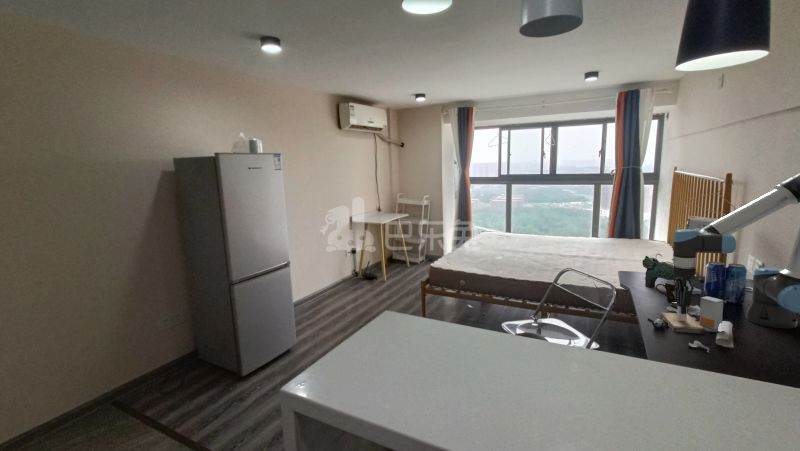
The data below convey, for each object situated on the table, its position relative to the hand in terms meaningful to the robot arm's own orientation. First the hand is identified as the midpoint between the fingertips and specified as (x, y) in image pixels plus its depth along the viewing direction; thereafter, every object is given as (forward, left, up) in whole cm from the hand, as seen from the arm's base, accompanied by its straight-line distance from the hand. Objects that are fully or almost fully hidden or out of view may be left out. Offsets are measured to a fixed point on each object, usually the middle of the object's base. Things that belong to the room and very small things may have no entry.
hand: (681, 320), depth 150 cm
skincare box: (-10, -1, -2) cm, 11 cm away
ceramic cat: (-9, -51, -3) cm, 52 cm away
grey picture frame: (0, -1, -3) cm, 3 cm away
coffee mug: (-7, -32, -3) cm, 33 cm away
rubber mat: (-10, -1, -3) cm, 10 cm away
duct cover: (0, -1, -1) cm, 2 cm away
